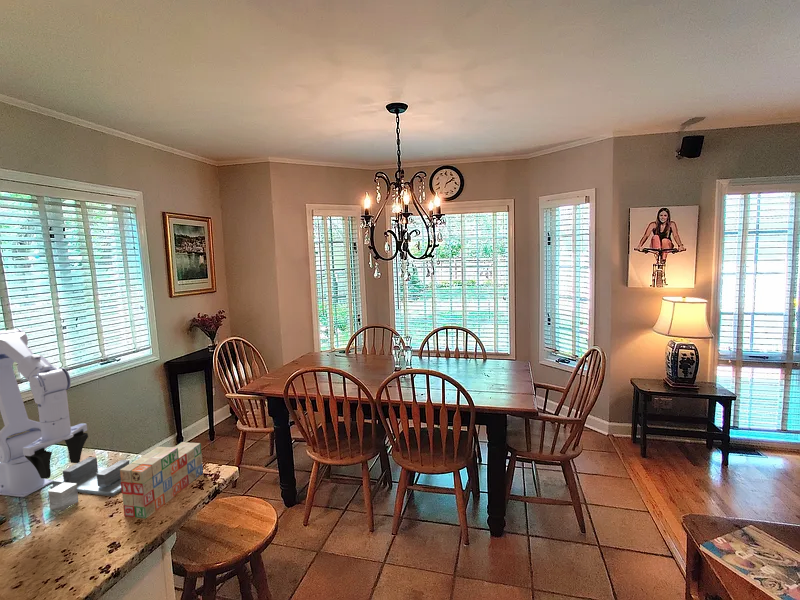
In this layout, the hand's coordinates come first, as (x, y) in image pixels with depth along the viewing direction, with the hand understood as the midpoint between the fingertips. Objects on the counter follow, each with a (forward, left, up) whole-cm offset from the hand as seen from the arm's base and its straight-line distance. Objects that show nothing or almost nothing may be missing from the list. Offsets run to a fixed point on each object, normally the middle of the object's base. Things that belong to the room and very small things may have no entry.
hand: (61, 469), depth 104 cm
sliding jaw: (+4, +11, -8) cm, 14 cm away
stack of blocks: (+22, +9, -10) cm, 26 cm away
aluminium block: (0, 0, -10) cm, 10 cm away
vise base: (-1, +11, -10) cm, 15 cm away
